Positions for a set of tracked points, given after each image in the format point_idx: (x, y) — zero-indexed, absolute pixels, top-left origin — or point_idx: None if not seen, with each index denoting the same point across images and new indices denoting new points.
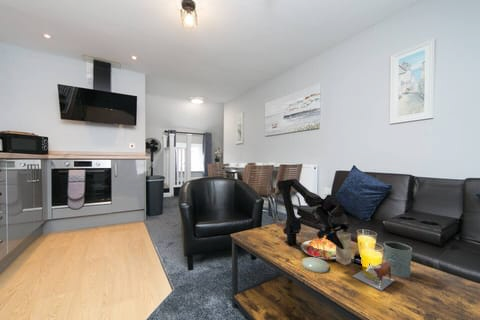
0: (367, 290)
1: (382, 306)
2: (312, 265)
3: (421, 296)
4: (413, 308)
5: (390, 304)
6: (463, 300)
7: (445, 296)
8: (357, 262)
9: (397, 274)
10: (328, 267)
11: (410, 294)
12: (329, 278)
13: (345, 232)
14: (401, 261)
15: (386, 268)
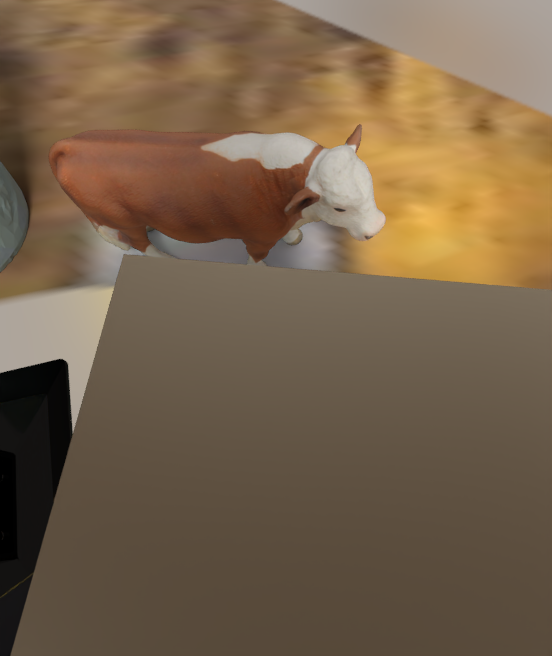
0: (429, 264)
1: (507, 155)
2: None
3: (193, 81)
4: (359, 75)
5: (441, 139)
6: None
7: (88, 29)
8: (14, 516)
9: (20, 203)
10: None
11: (222, 113)
12: None
13: (94, 634)
14: None
15: (180, 132)
